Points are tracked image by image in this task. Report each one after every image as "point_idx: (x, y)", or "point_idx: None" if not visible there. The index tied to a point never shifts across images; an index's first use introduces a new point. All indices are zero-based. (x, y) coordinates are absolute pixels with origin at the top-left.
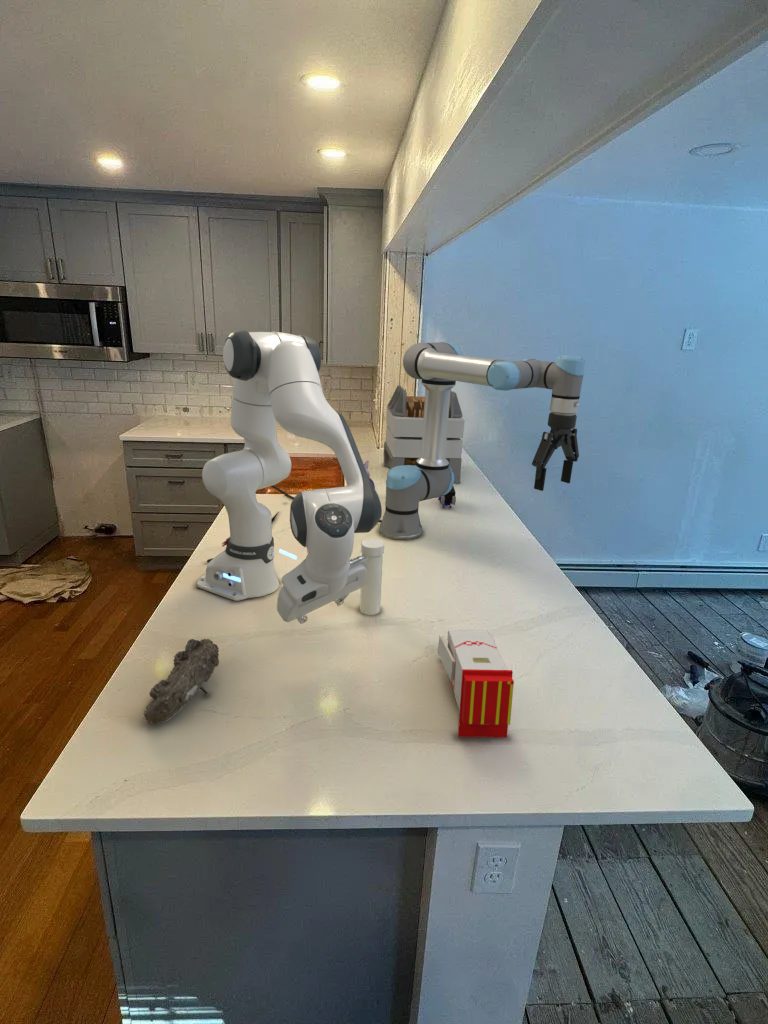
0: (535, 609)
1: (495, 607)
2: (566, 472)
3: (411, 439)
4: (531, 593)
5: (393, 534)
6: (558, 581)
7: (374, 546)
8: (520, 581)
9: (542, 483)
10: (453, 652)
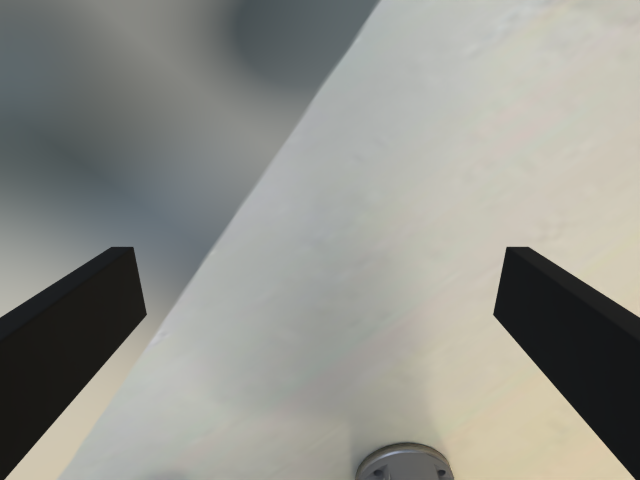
0: (526, 34)
1: (588, 112)
2: (84, 329)
3: None
4: (449, 101)
5: (451, 473)
6: (323, 99)
7: None
8: (408, 165)
9: (572, 278)
10: None
